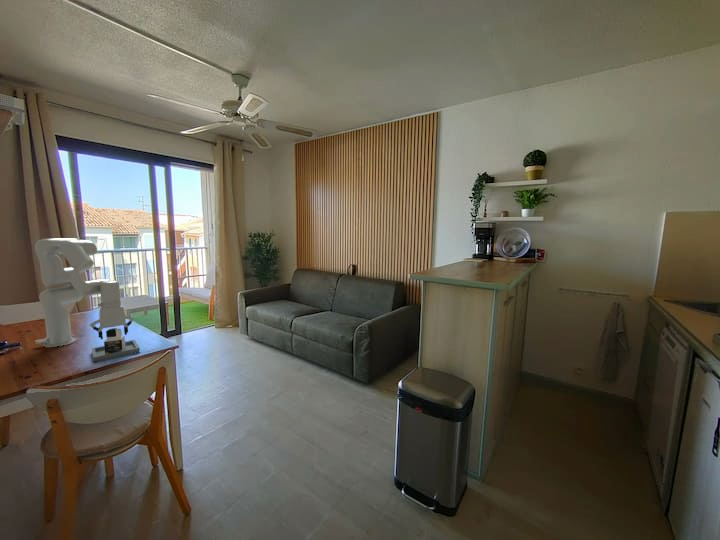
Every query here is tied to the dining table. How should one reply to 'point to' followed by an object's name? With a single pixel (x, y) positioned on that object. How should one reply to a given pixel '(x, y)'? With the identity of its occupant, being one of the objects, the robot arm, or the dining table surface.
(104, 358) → the grey tray
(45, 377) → the dining table surface
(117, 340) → the medicine bottle
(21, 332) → the dining table surface
